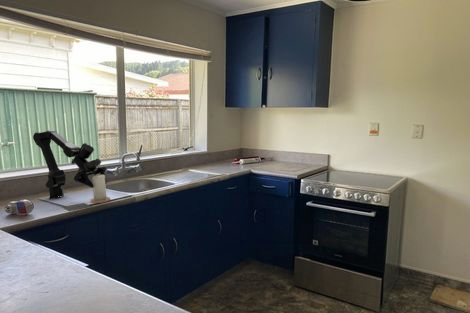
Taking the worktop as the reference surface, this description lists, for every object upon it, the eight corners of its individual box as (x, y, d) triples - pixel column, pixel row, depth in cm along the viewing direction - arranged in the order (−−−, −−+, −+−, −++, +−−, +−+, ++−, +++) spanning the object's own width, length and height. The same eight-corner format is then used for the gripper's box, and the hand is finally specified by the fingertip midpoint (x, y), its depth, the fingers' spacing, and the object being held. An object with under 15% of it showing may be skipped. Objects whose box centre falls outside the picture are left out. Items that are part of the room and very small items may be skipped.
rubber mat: (61, 207, 173) (61, 207, 173) (83, 203, 181) (83, 202, 181) (69, 212, 165) (69, 211, 165) (91, 207, 173) (91, 206, 173)
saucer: (89, 204, 179) (88, 202, 179) (92, 199, 189) (92, 197, 189) (109, 202, 181) (108, 200, 181) (111, 198, 191) (111, 196, 191)
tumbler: (95, 201, 181) (93, 177, 179) (92, 198, 186) (90, 175, 184) (108, 199, 184) (106, 175, 183) (104, 196, 190) (102, 174, 188)
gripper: (76, 156, 175) (93, 178, 172) (102, 152, 192) (119, 172, 189) (66, 170, 179) (83, 192, 176) (93, 165, 196) (109, 185, 193)
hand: (99, 185), depth 184 cm, fingers open, 9 cm apart
